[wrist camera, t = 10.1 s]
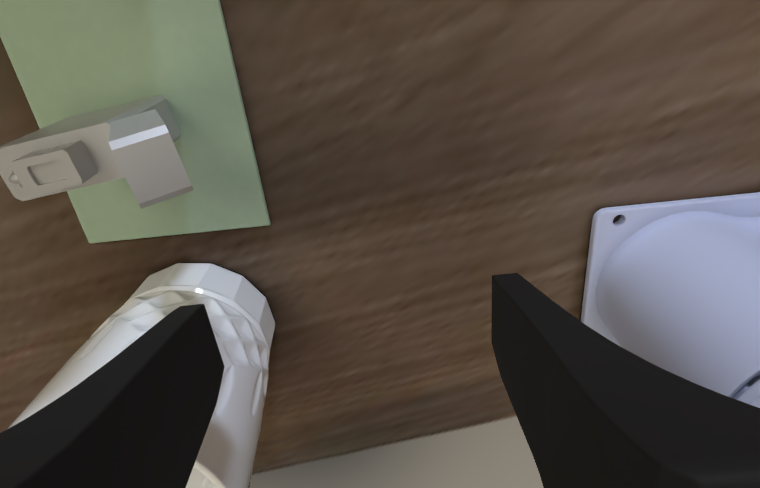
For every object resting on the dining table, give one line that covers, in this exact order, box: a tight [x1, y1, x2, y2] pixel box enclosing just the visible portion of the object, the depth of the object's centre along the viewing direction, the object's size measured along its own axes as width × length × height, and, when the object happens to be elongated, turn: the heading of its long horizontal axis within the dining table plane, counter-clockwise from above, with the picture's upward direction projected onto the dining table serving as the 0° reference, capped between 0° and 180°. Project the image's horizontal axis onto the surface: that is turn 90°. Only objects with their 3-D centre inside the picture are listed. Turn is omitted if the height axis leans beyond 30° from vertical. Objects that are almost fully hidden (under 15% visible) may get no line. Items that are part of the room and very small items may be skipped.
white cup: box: [8, 263, 275, 488], centre depth 19 cm, size 8×8×10 cm
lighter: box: [0, 95, 193, 209], centre depth 15 cm, size 7×2×8 cm, turn 102°
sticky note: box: [0, 0, 270, 243], centre depth 19 cm, size 8×10×1 cm
